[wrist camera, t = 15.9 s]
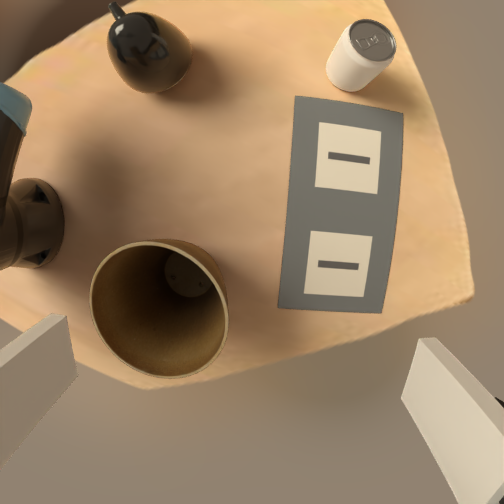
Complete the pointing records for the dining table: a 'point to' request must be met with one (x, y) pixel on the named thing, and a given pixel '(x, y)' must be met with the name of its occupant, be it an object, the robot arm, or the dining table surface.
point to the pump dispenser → (147, 50)
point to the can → (360, 55)
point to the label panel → (341, 206)
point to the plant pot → (160, 307)
